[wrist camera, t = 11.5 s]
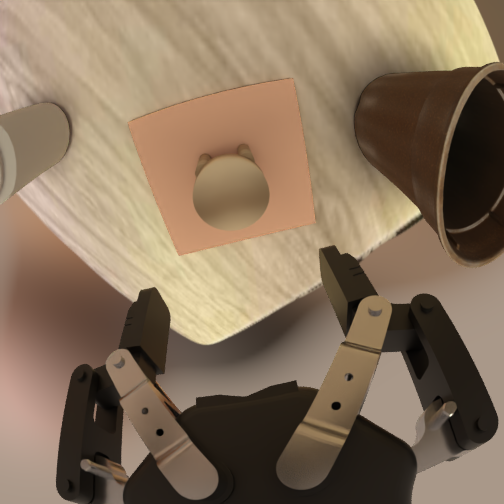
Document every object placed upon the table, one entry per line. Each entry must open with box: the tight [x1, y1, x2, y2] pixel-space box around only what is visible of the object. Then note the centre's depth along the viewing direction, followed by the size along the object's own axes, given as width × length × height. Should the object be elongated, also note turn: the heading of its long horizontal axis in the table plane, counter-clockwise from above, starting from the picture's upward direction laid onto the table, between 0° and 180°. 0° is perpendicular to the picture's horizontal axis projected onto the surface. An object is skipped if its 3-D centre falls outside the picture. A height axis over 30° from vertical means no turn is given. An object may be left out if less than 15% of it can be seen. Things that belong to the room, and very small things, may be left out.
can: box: [0, 103, 70, 204], centre depth 17 cm, size 8×8×12 cm
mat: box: [128, 78, 316, 256], centre depth 27 cm, size 16×16×1 cm
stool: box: [193, 144, 270, 231], centre depth 24 cm, size 6×6×6 cm
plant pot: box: [355, 62, 504, 268], centre depth 19 cm, size 16×16×16 cm
